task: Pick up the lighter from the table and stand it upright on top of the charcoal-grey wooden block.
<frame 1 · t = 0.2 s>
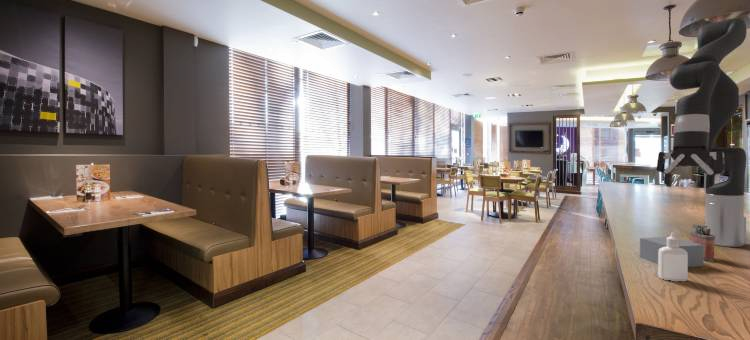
hand: (687, 187, 97), 22 cm above the counter, tool pointing down, fingers open, 8 cm apart
eye dropper bottle: (672, 280, 87), on the counter
pedestal block: (670, 261, 100), on the counter
lighter: (701, 258, 103), on the counter
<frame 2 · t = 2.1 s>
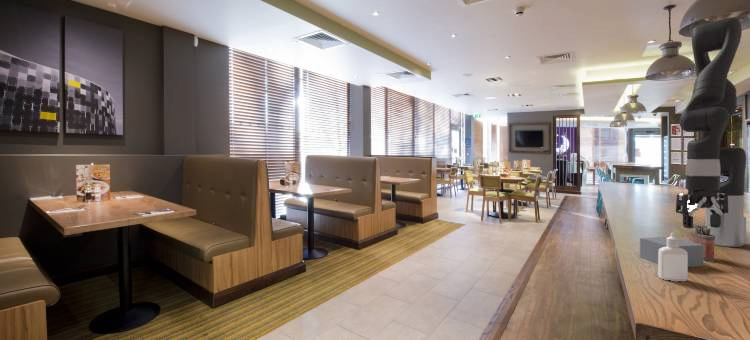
hand: (701, 227, 102), 9 cm above the counter, tool pointing down, fingers open, 8 cm apart
nothing on the counter moved.
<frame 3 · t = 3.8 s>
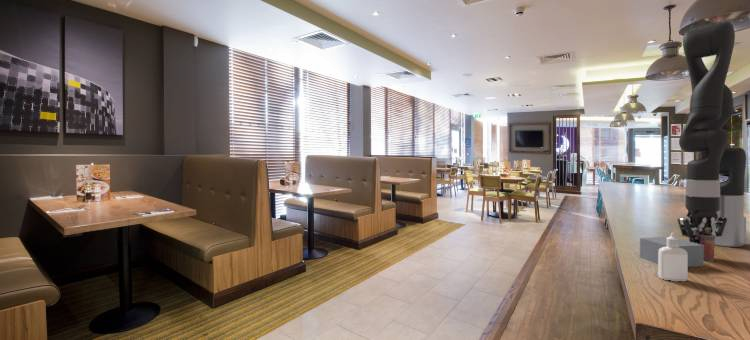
hand: (701, 250, 103), 2 cm above the counter, tool pointing down, fingers closed on lighter, 4 cm apart
lighter: (701, 258, 103), on the counter, touching gripper
everything else where it was.
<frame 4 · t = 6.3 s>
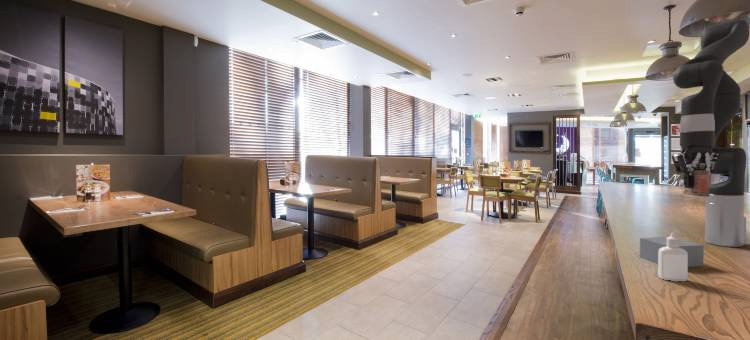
hand: (695, 187, 101), 22 cm above the counter, tool pointing down, fingers closed on lighter, 4 cm apart
lighter: (695, 195, 101), point 19 cm above the counter, touching gripper
everything else where it was.
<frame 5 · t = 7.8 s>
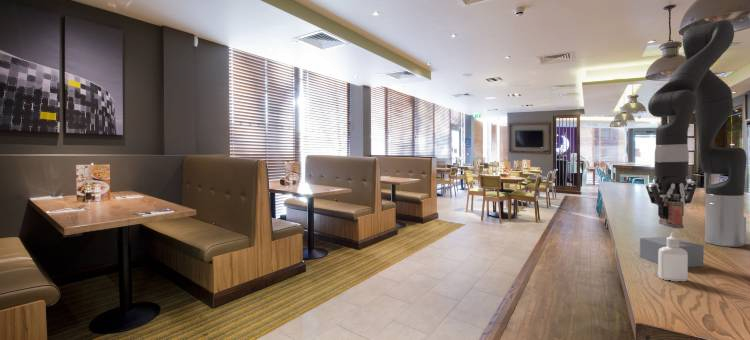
hand: (670, 218, 100), 13 cm above the counter, tool pointing down, fingers closed on lighter, 4 cm apart
lighter: (670, 226, 100), point 11 cm above the counter, touching gripper
everything else where it was.
when the fingers open (10 cm above the counter, at t = 8.8 s): lighter drops 1 cm, resting on pedestal block.
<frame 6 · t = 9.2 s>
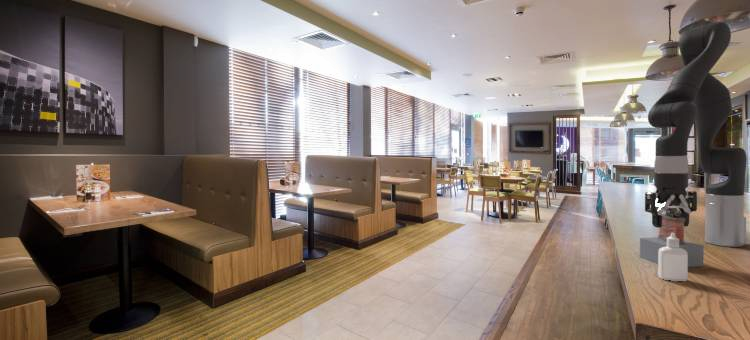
hand: (670, 226, 100), 10 cm above the counter, tool pointing down, fingers open, 7 cm apart
lighter: (670, 241, 100), point 6 cm above the counter, touching pedestal block
everything else where it was.
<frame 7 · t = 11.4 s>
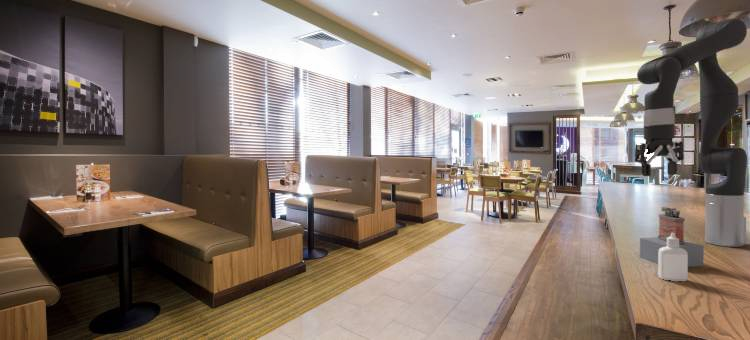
hand: (659, 175, 107), 25 cm above the counter, tool pointing down, fingers open, 8 cm apart
nothing on the counter moved.
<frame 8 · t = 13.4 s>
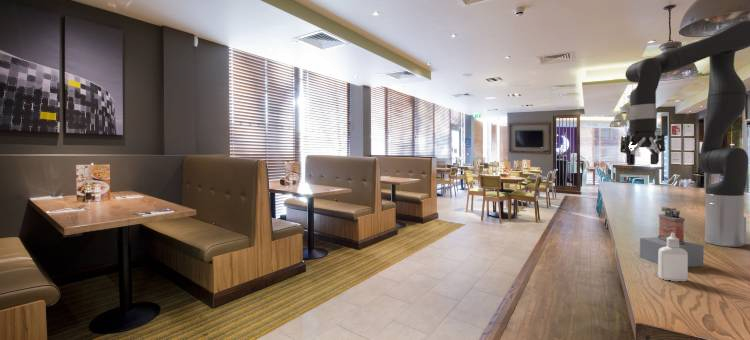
hand: (642, 164, 118), 28 cm above the counter, tool pointing down, fingers open, 8 cm apart
nothing on the counter moved.
at the end: lighter inside the target area on the pedestal block (0.2 cm from its centre), point 5.8 cm above the pedestal block's base; lighter tilted 0°; the gripper is holding nothing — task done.
